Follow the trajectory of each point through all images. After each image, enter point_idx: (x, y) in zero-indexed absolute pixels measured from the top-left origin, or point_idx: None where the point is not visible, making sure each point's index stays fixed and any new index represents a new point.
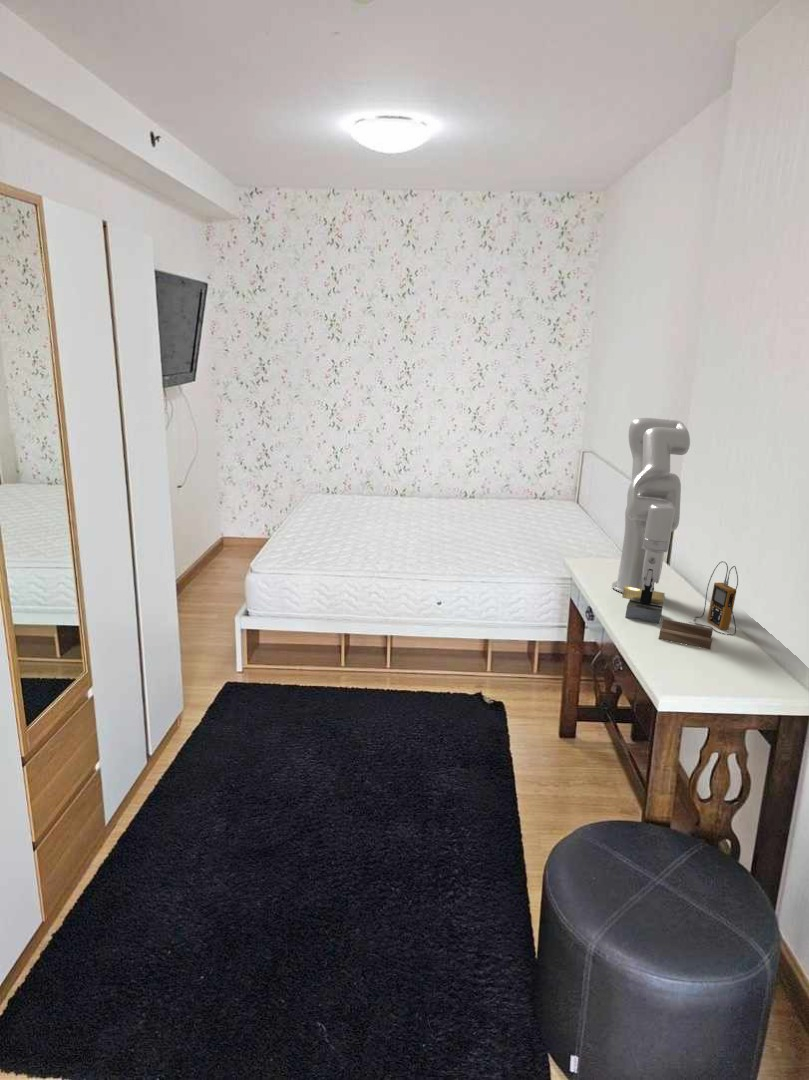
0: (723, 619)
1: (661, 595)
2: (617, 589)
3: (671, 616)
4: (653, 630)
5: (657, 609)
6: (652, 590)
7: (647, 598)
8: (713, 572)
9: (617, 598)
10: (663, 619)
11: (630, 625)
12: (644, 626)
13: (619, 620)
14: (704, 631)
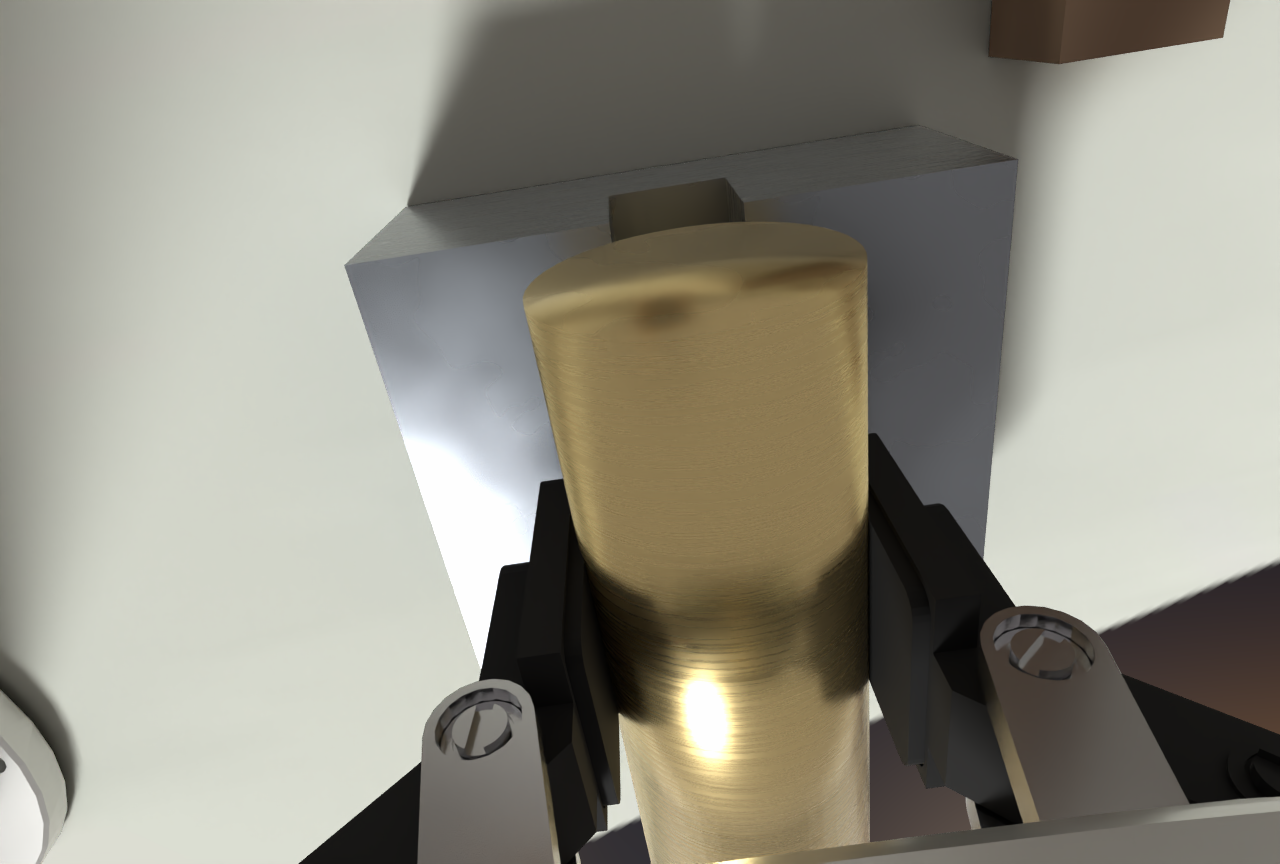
0: None
1: (835, 357)
2: (53, 841)
3: (348, 34)
4: (1244, 125)
5: (889, 257)
6: (586, 618)
7: (962, 548)
8: None
9: (291, 757)
10: (1110, 46)
11: (1170, 426)
12: (1123, 278)
13: (1049, 560)
14: None
